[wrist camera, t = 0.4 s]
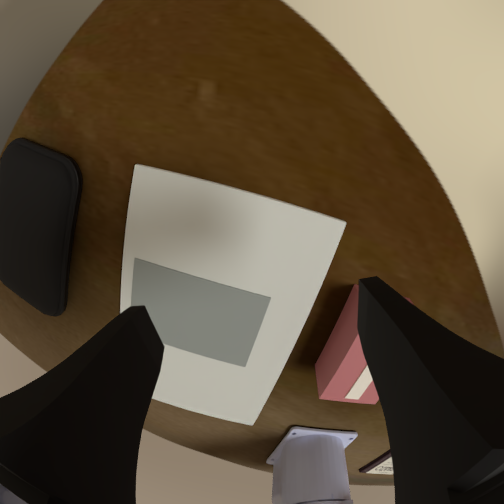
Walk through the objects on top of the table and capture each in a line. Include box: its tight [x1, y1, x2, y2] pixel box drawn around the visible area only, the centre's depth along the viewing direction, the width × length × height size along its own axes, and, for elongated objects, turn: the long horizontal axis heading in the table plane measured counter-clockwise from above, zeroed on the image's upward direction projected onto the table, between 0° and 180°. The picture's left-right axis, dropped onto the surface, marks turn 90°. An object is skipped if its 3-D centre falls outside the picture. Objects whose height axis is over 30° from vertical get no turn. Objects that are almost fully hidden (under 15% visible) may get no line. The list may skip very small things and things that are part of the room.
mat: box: [120, 164, 346, 426], centre depth 22 cm, size 22×14×1 cm, turn 165°
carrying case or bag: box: [0, 138, 82, 316], centre depth 19 cm, size 11×3×15 cm
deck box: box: [315, 284, 414, 404], centre depth 19 cm, size 8×5×4 cm, turn 166°
